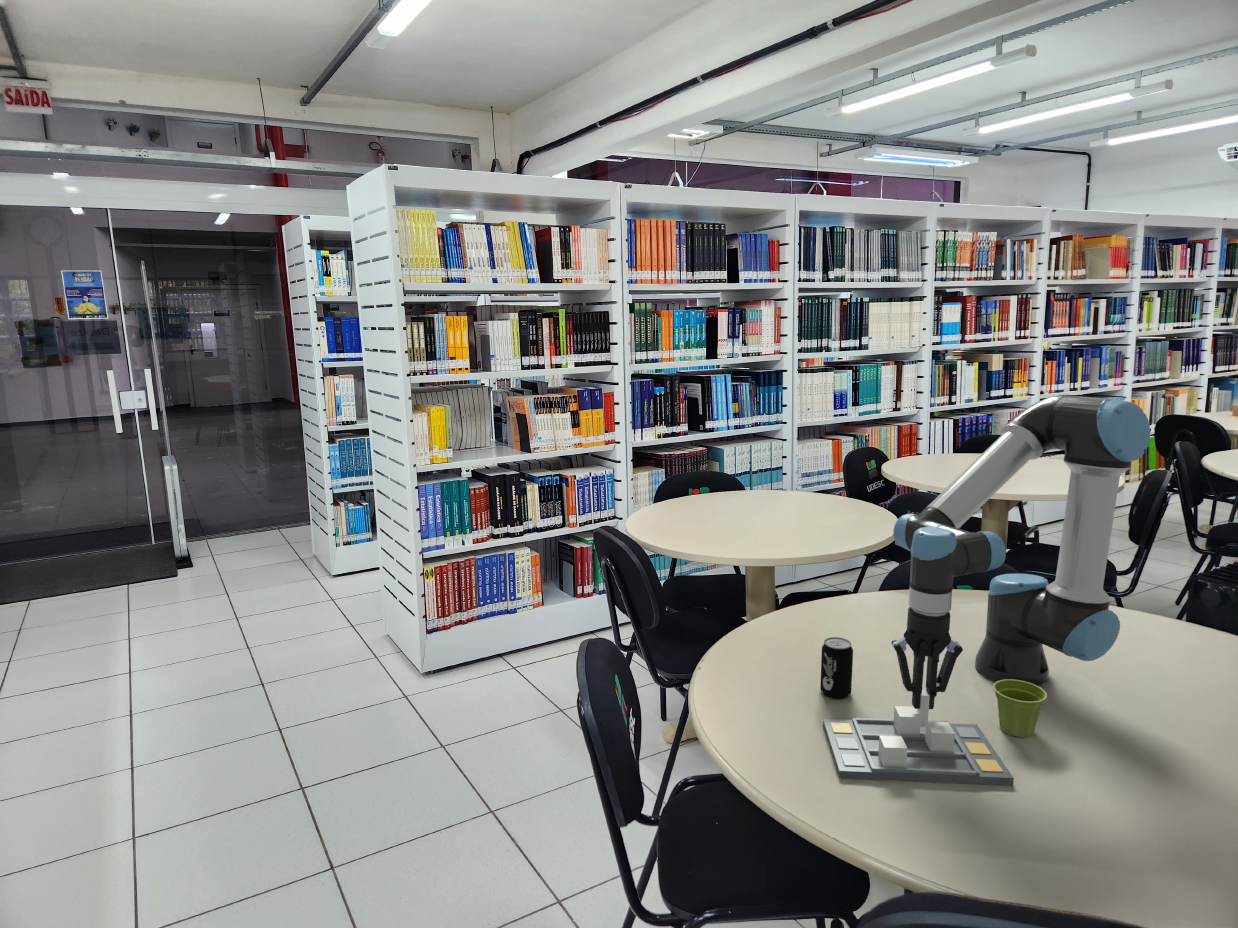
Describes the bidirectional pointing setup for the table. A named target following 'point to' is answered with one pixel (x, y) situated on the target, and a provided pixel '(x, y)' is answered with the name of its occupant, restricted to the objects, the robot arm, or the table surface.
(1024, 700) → the plant pot
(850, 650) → the beverage can
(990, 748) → the switch bank
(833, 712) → the table surface
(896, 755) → the white cube
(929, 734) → the white cube
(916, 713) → the white cube
